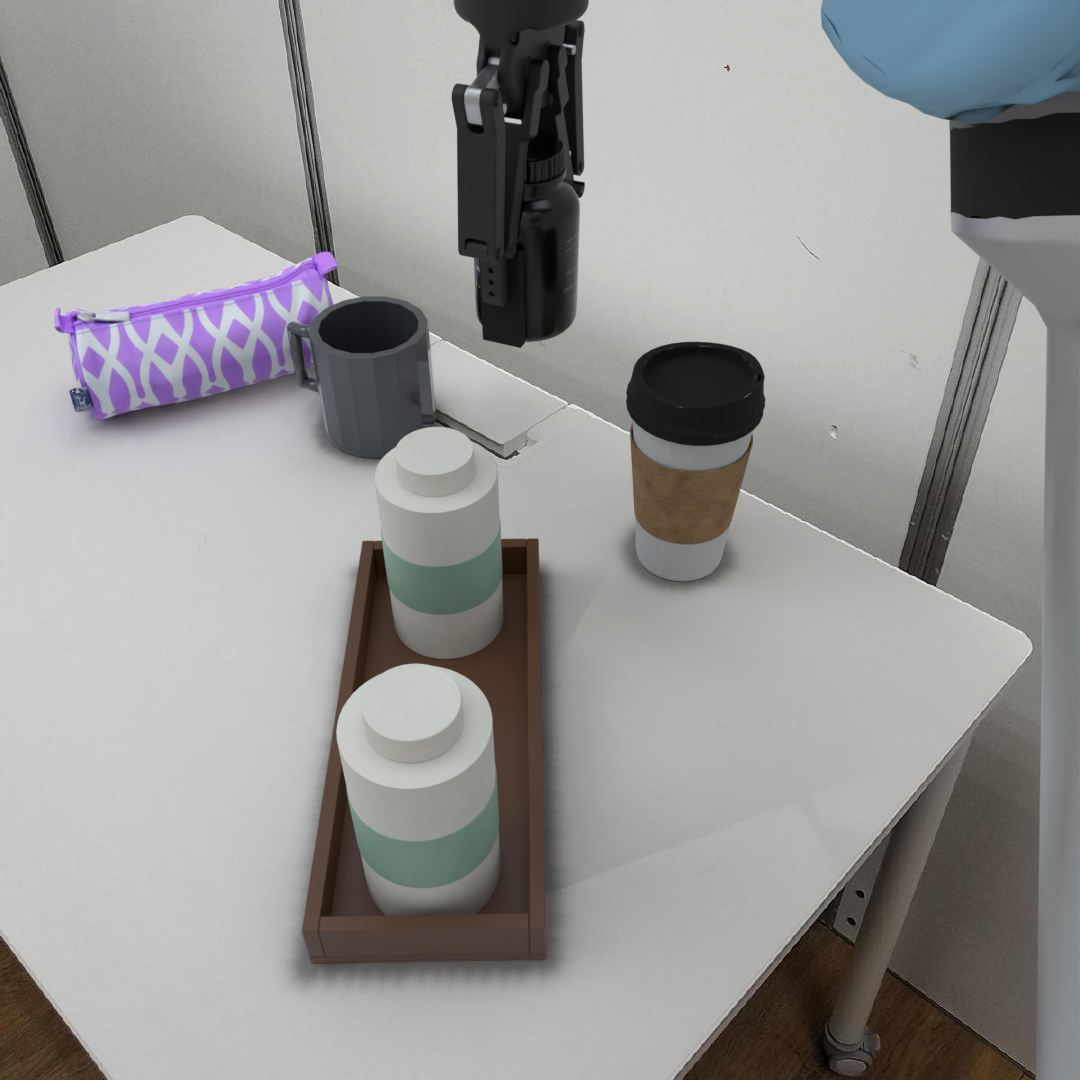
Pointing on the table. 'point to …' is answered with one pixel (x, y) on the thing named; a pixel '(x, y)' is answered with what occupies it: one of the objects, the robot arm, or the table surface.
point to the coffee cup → (690, 451)
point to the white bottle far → (441, 542)
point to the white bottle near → (422, 790)
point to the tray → (516, 704)
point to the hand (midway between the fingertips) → (527, 312)
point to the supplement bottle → (546, 242)
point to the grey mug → (368, 372)
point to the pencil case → (193, 341)
